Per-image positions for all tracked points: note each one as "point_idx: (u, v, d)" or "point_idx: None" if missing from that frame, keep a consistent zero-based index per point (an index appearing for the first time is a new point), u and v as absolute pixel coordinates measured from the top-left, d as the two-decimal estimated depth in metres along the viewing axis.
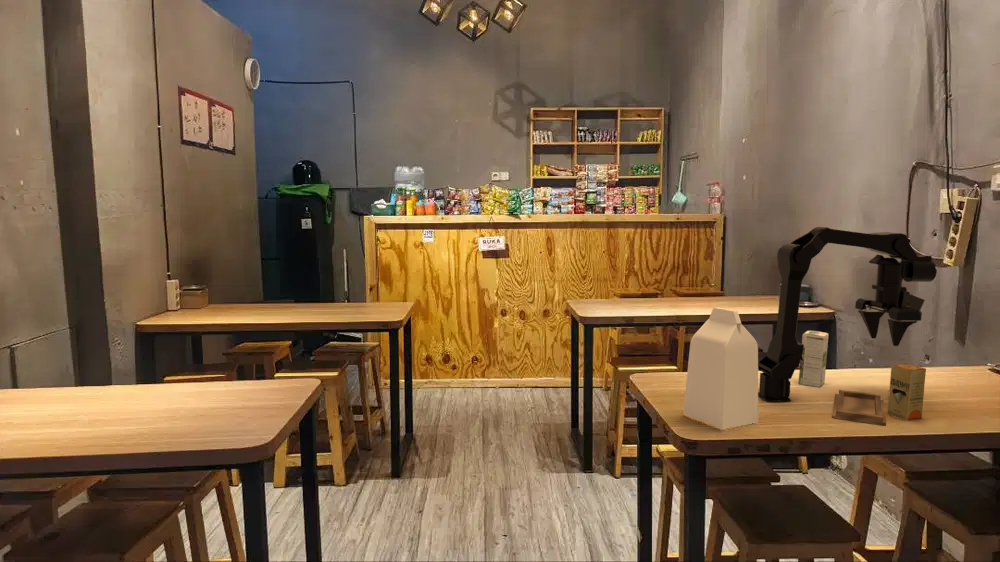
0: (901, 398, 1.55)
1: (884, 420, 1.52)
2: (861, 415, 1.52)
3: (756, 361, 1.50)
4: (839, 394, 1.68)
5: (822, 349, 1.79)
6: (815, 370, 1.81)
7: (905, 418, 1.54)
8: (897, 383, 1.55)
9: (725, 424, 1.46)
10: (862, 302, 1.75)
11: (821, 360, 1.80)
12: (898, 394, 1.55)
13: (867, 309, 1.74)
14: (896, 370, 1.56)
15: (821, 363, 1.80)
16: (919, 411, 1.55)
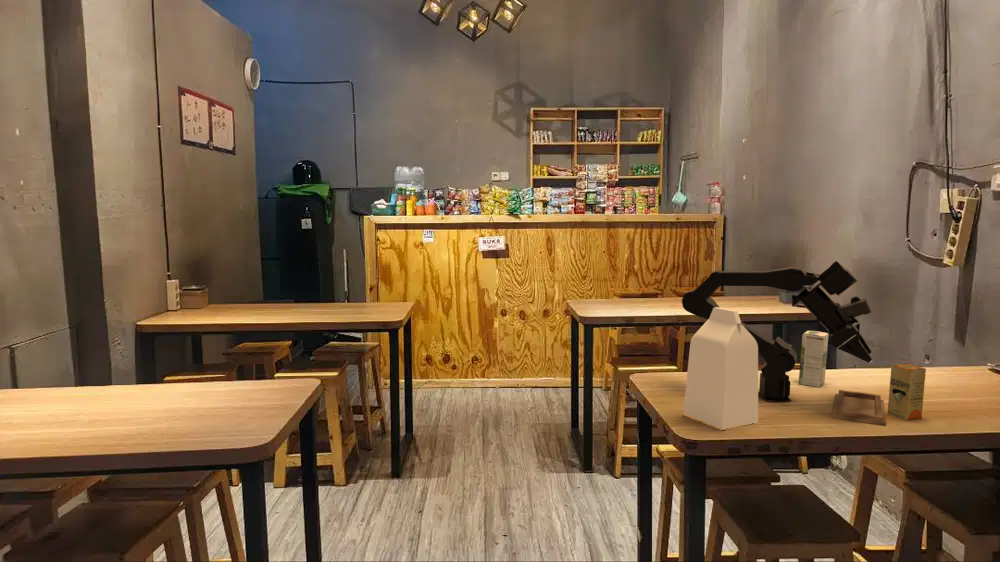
0: (901, 398, 1.55)
1: (884, 420, 1.52)
2: (861, 415, 1.52)
3: (756, 361, 1.50)
4: (839, 394, 1.68)
5: (822, 349, 1.79)
6: (815, 370, 1.81)
7: (905, 418, 1.54)
8: (897, 383, 1.55)
9: (725, 424, 1.46)
10: None
11: (821, 360, 1.80)
12: (898, 394, 1.55)
13: None
14: (896, 370, 1.56)
15: (821, 363, 1.80)
16: (919, 411, 1.55)
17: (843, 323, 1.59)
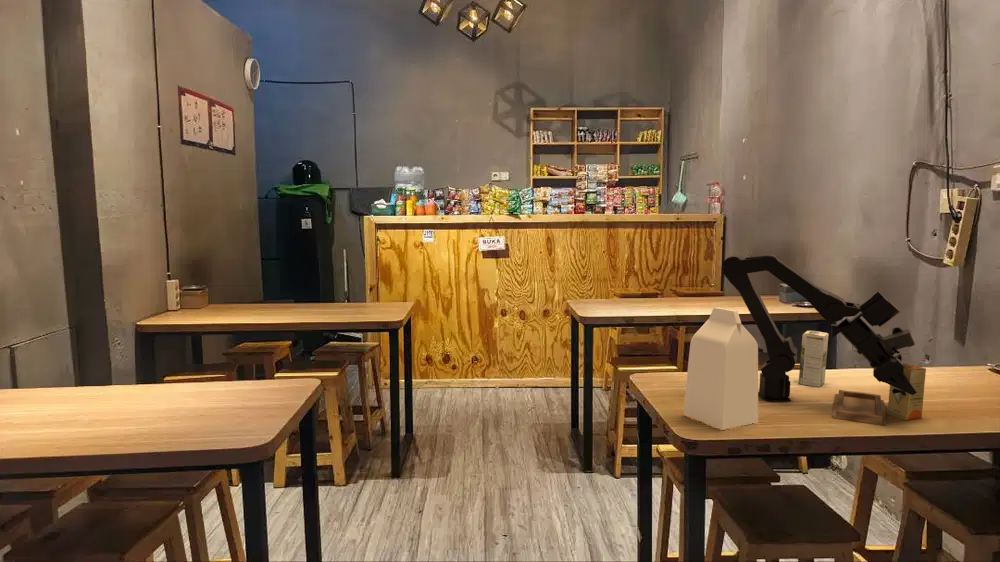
0: (901, 398, 1.55)
1: (884, 420, 1.52)
2: (861, 415, 1.52)
3: (756, 361, 1.50)
4: (839, 394, 1.68)
5: (822, 349, 1.79)
6: (815, 370, 1.81)
7: (905, 418, 1.54)
8: None
9: (725, 424, 1.46)
10: None
11: (821, 360, 1.80)
12: (898, 394, 1.55)
13: None
14: None
15: (821, 363, 1.80)
16: (919, 411, 1.55)
17: (886, 355, 1.55)
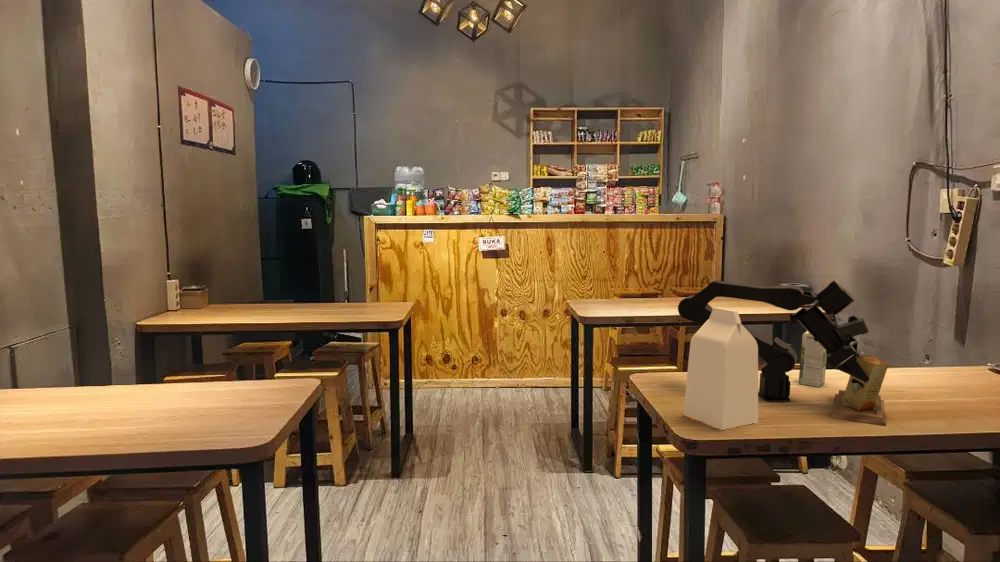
0: (858, 389, 1.58)
1: (884, 420, 1.52)
2: (861, 415, 1.52)
3: (756, 361, 1.50)
4: (839, 394, 1.68)
5: (822, 349, 1.79)
6: (815, 370, 1.81)
7: (858, 408, 1.58)
8: None
9: (725, 424, 1.46)
10: None
11: (821, 360, 1.80)
12: (856, 385, 1.59)
13: None
14: (860, 362, 1.58)
15: (821, 363, 1.80)
16: (873, 402, 1.59)
17: (841, 343, 1.59)
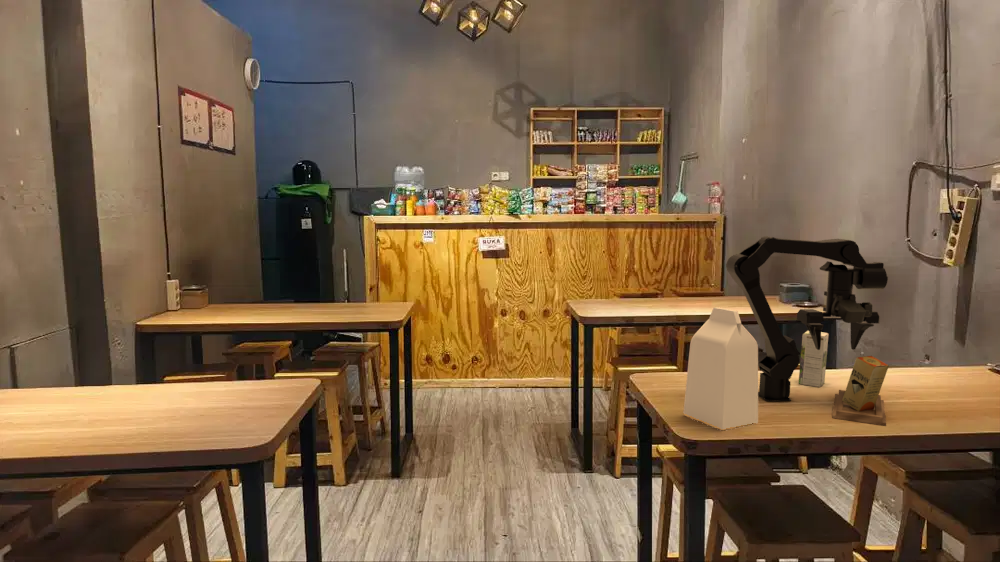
0: (858, 390, 1.58)
1: (884, 420, 1.52)
2: (861, 415, 1.52)
3: (756, 361, 1.50)
4: (839, 394, 1.68)
5: (822, 349, 1.79)
6: (815, 370, 1.81)
7: (857, 409, 1.58)
8: (858, 375, 1.58)
9: (725, 424, 1.46)
10: None
11: (821, 360, 1.80)
12: (856, 385, 1.58)
13: None
14: (860, 363, 1.57)
15: (821, 363, 1.80)
16: (873, 403, 1.59)
17: (831, 311, 1.66)
